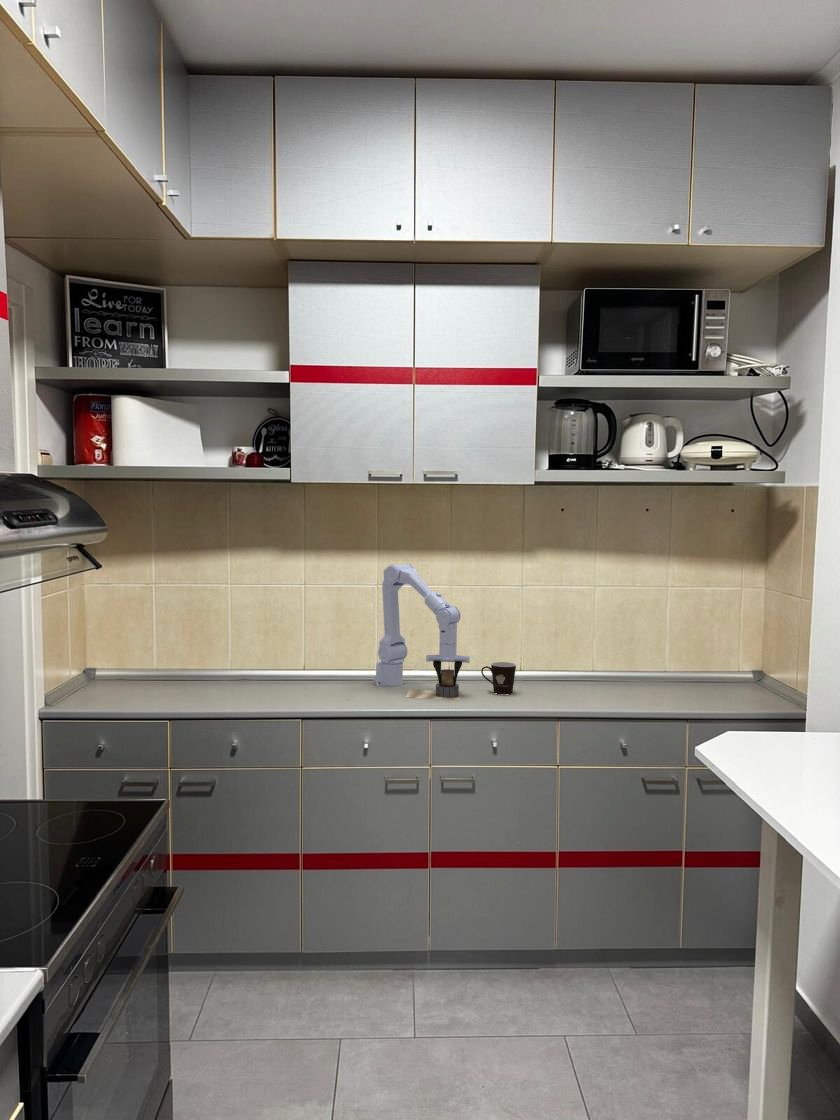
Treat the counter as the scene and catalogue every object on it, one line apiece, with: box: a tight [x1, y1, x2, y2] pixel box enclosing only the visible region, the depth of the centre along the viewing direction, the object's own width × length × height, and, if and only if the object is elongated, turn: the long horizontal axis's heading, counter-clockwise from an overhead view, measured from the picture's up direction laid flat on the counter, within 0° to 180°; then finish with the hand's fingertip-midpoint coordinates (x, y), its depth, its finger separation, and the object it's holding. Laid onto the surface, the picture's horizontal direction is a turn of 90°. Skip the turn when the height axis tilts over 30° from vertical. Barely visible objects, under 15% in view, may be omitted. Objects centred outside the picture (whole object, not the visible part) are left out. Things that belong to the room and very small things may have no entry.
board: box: [404, 689, 462, 701], centre depth 273 cm, size 18×12×1 cm, turn 84°
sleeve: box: [435, 682, 460, 698], centre depth 272 cm, size 8×8×4 cm
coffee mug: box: [480, 661, 517, 695], centre depth 282 cm, size 12×9×10 cm
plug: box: [441, 668, 454, 687], centre depth 272 cm, size 4×4×6 cm
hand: (447, 683), depth 272 cm, fingers closed on plug, 4 cm apart
